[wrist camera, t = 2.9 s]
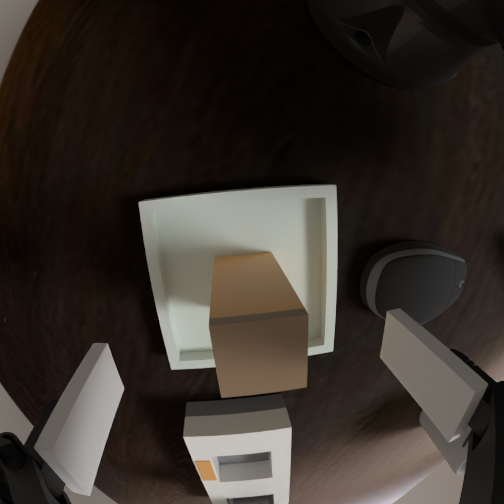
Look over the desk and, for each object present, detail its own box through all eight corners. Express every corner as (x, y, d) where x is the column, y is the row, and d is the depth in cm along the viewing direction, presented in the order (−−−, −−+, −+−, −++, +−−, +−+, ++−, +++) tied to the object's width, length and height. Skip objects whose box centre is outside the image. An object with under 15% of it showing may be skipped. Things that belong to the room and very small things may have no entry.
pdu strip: (186, 401, 24) (183, 437, 20) (282, 393, 25) (291, 428, 21) (220, 497, 30) (221, 521, 26) (282, 491, 31) (288, 515, 27)
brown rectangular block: (214, 257, 20) (208, 325, 11) (271, 251, 21) (308, 314, 12) (220, 308, 22) (221, 397, 12) (273, 303, 22) (306, 387, 13)
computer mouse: (449, 308, 25) (472, 324, 21) (351, 317, 24) (371, 340, 20) (464, 242, 23) (491, 253, 20) (364, 237, 22) (390, 250, 18)
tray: (145, 199, 19) (138, 202, 18) (327, 183, 20) (336, 185, 19) (174, 356, 23) (171, 369, 21) (326, 339, 24) (332, 351, 22)
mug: (407, 425, 30) (443, 481, 19) (444, 376, 28) (492, 429, 17) (451, 422, 32) (484, 464, 21) (482, 380, 30) (522, 420, 20)
